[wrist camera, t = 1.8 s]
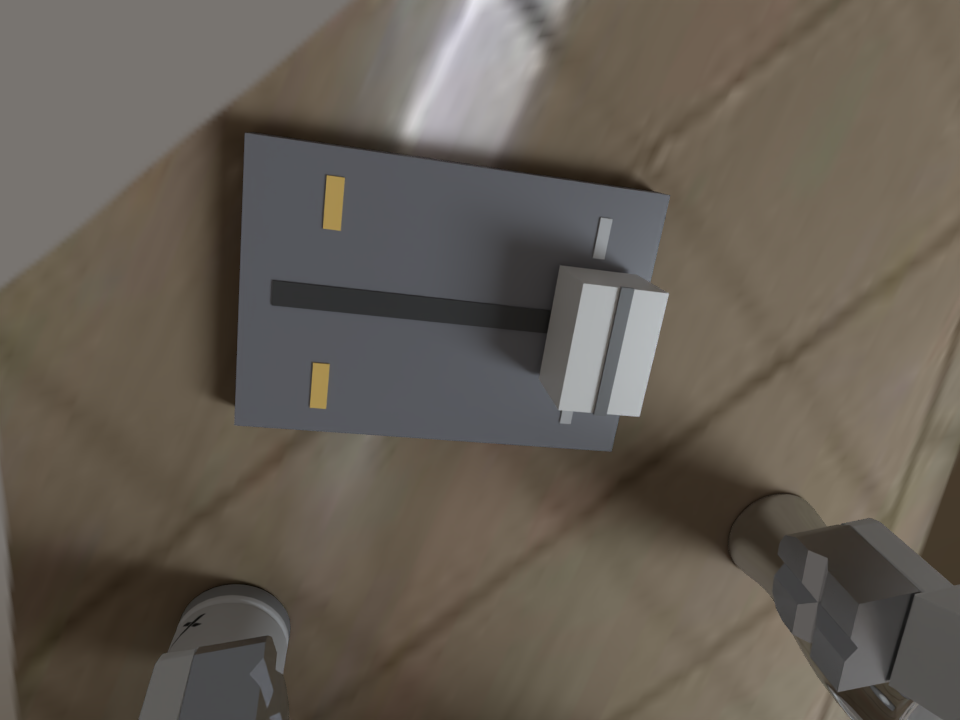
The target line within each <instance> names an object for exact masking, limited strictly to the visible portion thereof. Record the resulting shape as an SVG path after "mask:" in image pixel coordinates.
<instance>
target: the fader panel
mask: <svg viewBox="0 0 960 720" xmlns="http://www.w3.org/2000/svg"><path fill="white" fill-rule="evenodd" d="M669 199H670V195H667V194H663V193H659V192H654V191H648V190H641V189H634V188H627V187H621V186H614V185H607V184H600V183H593V182H587V181H580V180H573V179H566V178H560V177H553V176H546V175H539V174H532V173H526V172H519V171H512V170H505V169H499V168H492V167H485V166H478V165H471V164H465V163H458V162H451V161H444V160H437V159H431V158H424V157H417V156H410V155H404V154H397V153H390V152H383V151H376V150H370V149H363V148H356V147H349V146H343V145H336V144H329V143H322V142H315V141H309V140H302V139H295V138H288V137H281V136H275V135H268V134H261V133H254V132H249V133H245V143H244V171H243V199H242V227H241V255H240V283H239V312H238V340H237V368H236V396H235V424H234V425H238V426H253V427H267V428H281V429H296V430H310V431H324V432H339V433H353V434H367V435H381V436H396V437H410V438H424V439H439V440H453V441H467V442H482V443H496V444H510V445H524V446H539V447H553V448H567V449H582V450H596V451H610V452H611V451H612V447H613V443H614V438H615V434H616V430H617V425H618V421H619V416H620V415H612V414H607V415H606V416H597V415H594V414H593V413H587V412H575V411H563V410H558V409H557V407H556V406H555V404H554V402H553V401H552V399H551V398H550V396H549V395H548V393H547V391H546V390H545V388H544V387H543V385H542V384H541V382H540V380H539V375H540V370H541V365H542V359H543V354H544V348H545V343H546V338H547V332H548V327H549V321H550V316H551V311H552V305H553V300H554V295H555V289H556V284H557V278H558V273H559V268H560V265H562V266H570V267H578V268H587V269H595V270H603V271H611V272H619V273H628V274H636V275H638V276H640V277H641V278H643V279H645V280H647V281H648V282H650V281H651V277H652V273H653V268H654V264H655V260H656V255H657V251H658V246H659V242H660V238H661V233H662V229H663V225H664V220H665V216H666V212H667V207H668V203H669Z"/></svg>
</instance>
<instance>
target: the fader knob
mask: <svg viewBox="0 0 960 720" xmlns="http://www.w3.org/2000/svg"><path fill="white" fill-rule="evenodd" d="M668 295H669V293H667V292H666V291H664V290H662V289H660V288H659V287H657V286H655V285H653V284H652V283H650V282H648V281H647V280H645V279H643V278H641V277H640V276H638V275H636V274H628V273H619V272H611V271H603V270H595V269H587V268H578V267H570V266H562V265H560V268H559V273H558V278H557V284H556V289H555V295H554V300H553V305H552V311H551V316H550V321H549V327H548V332H547V338H546V343H545V348H544V354H543V359H542V365H541V370H540V375H539V380H540V382H541V384H542V385H543V387H544V388H545V390H546V391H547V393H548V395H549V396H550V398H551V399H552V401H553V402H554V404H555V406H556V407H557V409H558V410H563V411H575V412H587V413H593V414H594V415H597V416H606V415H607V414H612V415H624V416H637V417H639V416H640V412H641V408H642V404H643V400H644V396H645V391H646V387H647V383H648V379H649V375H650V371H651V366H652V362H653V358H654V354H655V350H656V345H657V341H658V337H659V333H660V329H661V325H662V320H663V316H664V312H665V308H666V304H667V300H668Z"/></svg>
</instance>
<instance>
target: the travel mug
mask: <svg viewBox="0 0 960 720" xmlns="http://www.w3.org/2000/svg"><path fill="white" fill-rule="evenodd" d="M267 635H269V636H271V637H272V638H273V642H274V645H275V648H276V651H277V659H276V670H277V671H278V672H280V673H282V674H283V671H284V665H285V659H286V652H287V647H288V641H289V635H290V619H289V617H288V614H287V611H286V610H285V608H284V607H283V605H282V604H281V603H280V602H279V601H278V600H277V599H276V598H275V597H274V596H272V595H271V594H269V593H268V592H266V591H264V590H262V589H259V588H257V587H253V586H249V585H241V584H231V585H223V586H219V587H215V588H212V589H210V590H208V591H205V592H203V593H202V594H200V595H199V596H197V597H196V598H194V599H193V600H192V601H191V603H190V604H189V605H188V606H187V607H186V609H185V611H184V612H183V614H182V617H181V619H180V622H179V624H178V627H177V630H176V633H175V634H174V637H173V639H172V642H171V644H170V647H169V650H168V652H167V653H170V652H176V651H182V650H188V649H194V648H199V647H202V646H208V645H214V644H220V643H225V642H231V641H237V640H243V639H249V638H255V637H261V636H267Z"/></svg>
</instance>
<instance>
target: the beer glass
mask: <svg viewBox="0 0 960 720" xmlns="http://www.w3.org/2000/svg"><path fill="white" fill-rule="evenodd" d="M823 527H827V526H826V524H825V523H824V522H823V520H822V519H821V517H820V516H819V515H818V513H817V512H816V511H815V509H814V508H813V507H812V506H811V505H810V504H809V503H808V502H807V501H806V500H804V499H802V498H800V497H798V496H796V495H792V494H774V495H770V496H766V497H764V498H761V499H759V500H757V501H756V502H754V503H752V504H751V505H750V506H748V507H747V508H746V509H745V510H744V511H743V512H742V513H741V514H740V515H739V516H738V518H737V519H736V521H735V522H734V524H733V526H732V528H731V531H730V534H729V539H728V548H729V553H730V556H731V558H732V560H733V562H734V563H735V564H736V565H737V567H738V568H739V569H740V570H742V571H743V572H744V573H745V574H746V575H748V576H749V577H750V578H751V579H753V580H754V581H755V582H757V583H758V584H759V585H760V586H761V587H762V588H763V589H764V590H765V591H766V592H767V593H768V594H769V595H770V597H771V598H772V599H773V601H774V597H773V593H772V589H773V580H774V575H775V574H776V573H777V571H778V570H779V569H780V568H781V567H782V565H783V564H784V562H783V561H782V559H781V558H780V557H779V555H778V550H779V544H780V541H781V540H782V539H783V537H784V536H785V535H788V534H793V533H798V532H803V531H808V530H813V529H818V528H823ZM774 602H775V601H774ZM793 636H794V638H795V640H796V642H797V644H798V645H799V647H800V649H801V651H802V653H803V654H804V656H805V658H806V659H807V661H808V662H809V664H810V666H811V667H812V669H813V671H814V672H815V674H816V675H817V677H818V678H819V680H820V681H821V682H822V684H823V685H824V686H825V688H826V689H827V690H828V692H829V693H830V694H831V696H832V697H833V698H834V700H835V701H836V702H837V703H838V704H839V706H840V707H841V708H842V709H843V710H844V712H845V713H846V714H847V715H848V716H849V717H850V719H851V720H943V719H941V718H939V717H938V716H936V715H935V714H933V713H932V712H930V711H928V710H927V709H925V708H924V707H922V706H921V705H919V704H917V703H916V702H914V701H913V700H911V699H910V698H908V697H906V696H905V695H903V694H902V693H900V692H899V691H897V690H895V689H894V688H892V687H891V686H889V682H886V683H881V684H876V685H871V686H866V687H861V688H856V689H851V690H846V691H841V692H837V691H836V690H835V688H834V687H833V686H832V684H831V683H830V682H829V681H828V679H827V678H826V677H825V676H824V674H823V673H822V672H821V670H820V669H819V668H818V667H817V665H816V664H815V663H814V661H813V660H812V659H811V658H810V643H808V642H806V641H805V640H803V639H801V638H799V637H797V636H795V635H793Z"/></svg>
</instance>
